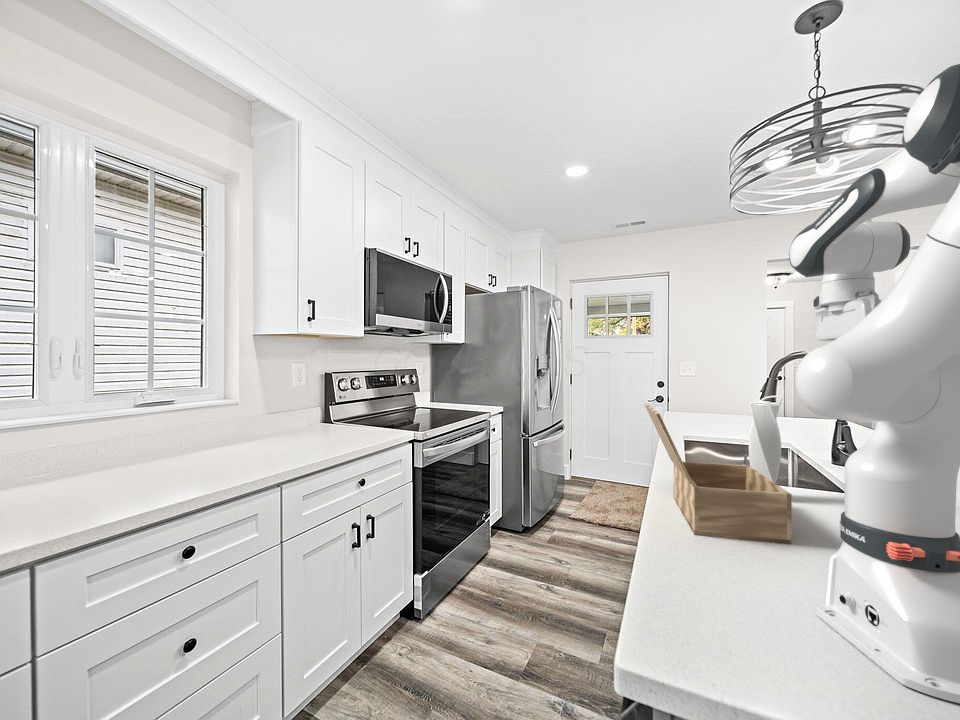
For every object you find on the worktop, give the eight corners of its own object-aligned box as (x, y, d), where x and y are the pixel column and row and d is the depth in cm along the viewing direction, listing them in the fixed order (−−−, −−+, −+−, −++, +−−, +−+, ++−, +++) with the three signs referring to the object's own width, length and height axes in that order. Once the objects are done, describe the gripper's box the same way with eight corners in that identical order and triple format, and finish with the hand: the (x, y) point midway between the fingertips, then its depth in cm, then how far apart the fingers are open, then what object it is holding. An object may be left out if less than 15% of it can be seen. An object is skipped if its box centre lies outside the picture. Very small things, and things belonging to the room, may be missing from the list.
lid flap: (659, 413, 95) (656, 414, 95) (692, 483, 93) (689, 484, 93) (646, 403, 119) (644, 404, 119) (672, 458, 117) (670, 459, 117)
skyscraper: (773, 495, 122) (773, 394, 123) (788, 504, 114) (788, 396, 115) (740, 493, 124) (740, 394, 124) (753, 502, 116) (753, 396, 116)
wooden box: (791, 544, 88) (791, 494, 88) (694, 534, 92) (694, 487, 92) (748, 504, 113) (748, 465, 113) (673, 498, 118) (673, 461, 118)
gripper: (896, 286, 83) (896, 359, 83) (839, 301, 103) (839, 360, 103) (857, 288, 85) (857, 359, 85) (808, 302, 105) (808, 360, 105)
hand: (847, 360), depth 94 cm, fingers closed
